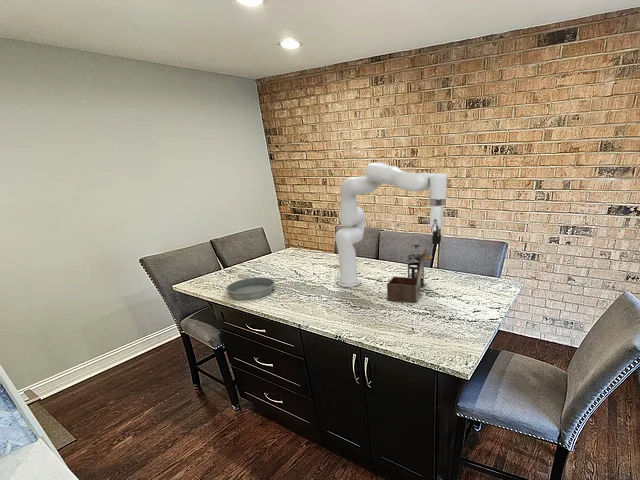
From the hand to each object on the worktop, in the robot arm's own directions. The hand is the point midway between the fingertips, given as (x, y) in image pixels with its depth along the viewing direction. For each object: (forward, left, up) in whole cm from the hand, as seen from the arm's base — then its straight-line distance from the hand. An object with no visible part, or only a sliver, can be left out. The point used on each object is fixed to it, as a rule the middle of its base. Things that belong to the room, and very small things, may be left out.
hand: (436, 242), depth 158 cm
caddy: (-16, 0, -29) cm, 33 cm away
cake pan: (-99, -12, -29) cm, 104 cm away
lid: (-8, 0, -12) cm, 15 cm away
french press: (-14, +19, -29) cm, 38 cm away
